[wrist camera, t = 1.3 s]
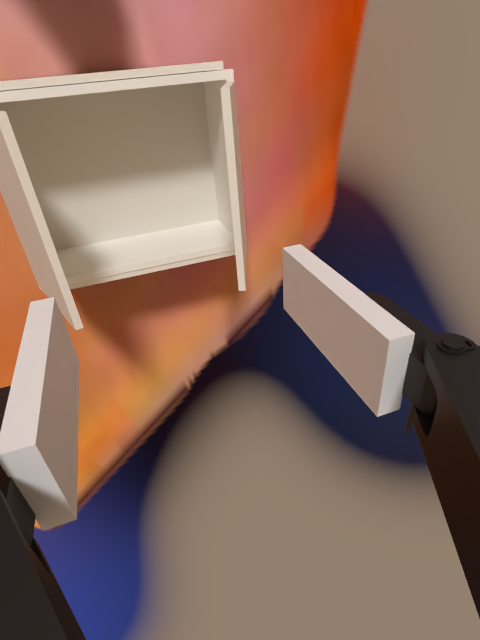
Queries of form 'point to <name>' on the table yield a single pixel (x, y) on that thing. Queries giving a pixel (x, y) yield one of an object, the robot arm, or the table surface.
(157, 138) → the carton
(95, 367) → the table surface
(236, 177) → the flap
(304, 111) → the table surface
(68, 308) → the flap
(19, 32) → the table surface
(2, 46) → the table surface
